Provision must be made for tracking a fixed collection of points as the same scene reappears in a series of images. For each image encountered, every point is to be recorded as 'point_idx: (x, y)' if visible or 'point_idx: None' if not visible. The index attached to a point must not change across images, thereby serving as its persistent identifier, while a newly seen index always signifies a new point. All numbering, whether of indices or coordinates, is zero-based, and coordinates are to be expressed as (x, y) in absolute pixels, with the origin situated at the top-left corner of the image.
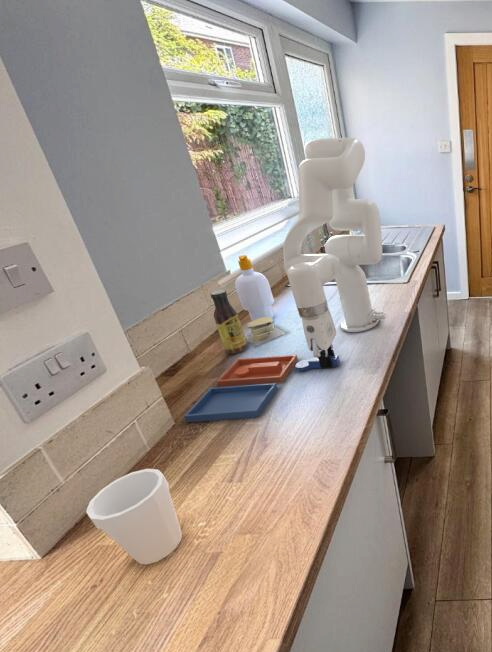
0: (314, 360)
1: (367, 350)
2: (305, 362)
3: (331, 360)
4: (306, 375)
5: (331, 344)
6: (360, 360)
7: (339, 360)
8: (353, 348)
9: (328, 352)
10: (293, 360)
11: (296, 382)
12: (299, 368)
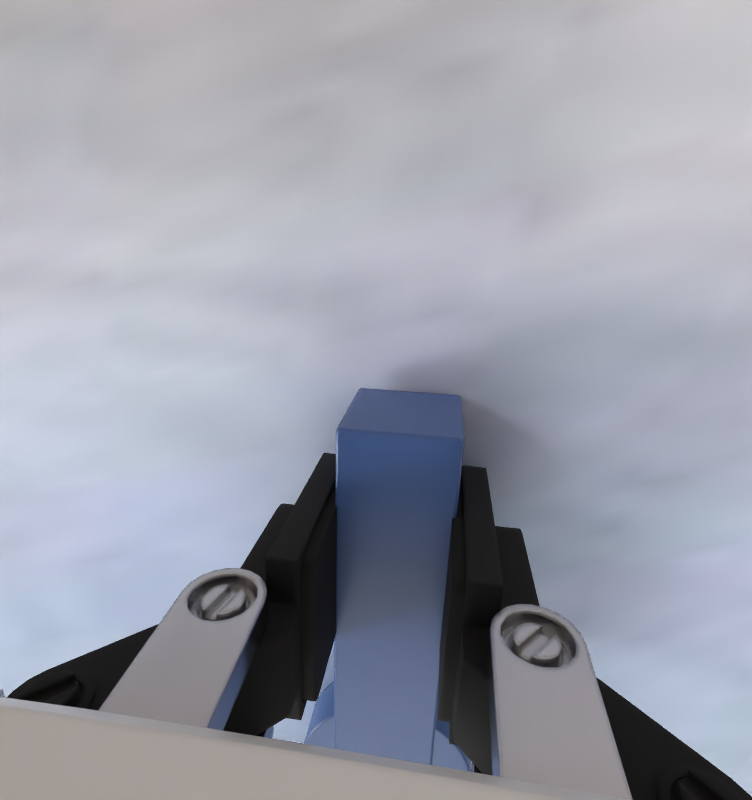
0: (420, 714)
1: (62, 41)
2: None
3: (455, 506)
4: None
5: (190, 636)
6: (336, 88)
7: (364, 398)
8: (26, 284)
9: (321, 602)
10: None
11: None
12: None
